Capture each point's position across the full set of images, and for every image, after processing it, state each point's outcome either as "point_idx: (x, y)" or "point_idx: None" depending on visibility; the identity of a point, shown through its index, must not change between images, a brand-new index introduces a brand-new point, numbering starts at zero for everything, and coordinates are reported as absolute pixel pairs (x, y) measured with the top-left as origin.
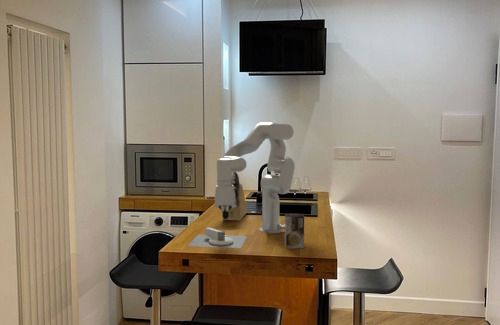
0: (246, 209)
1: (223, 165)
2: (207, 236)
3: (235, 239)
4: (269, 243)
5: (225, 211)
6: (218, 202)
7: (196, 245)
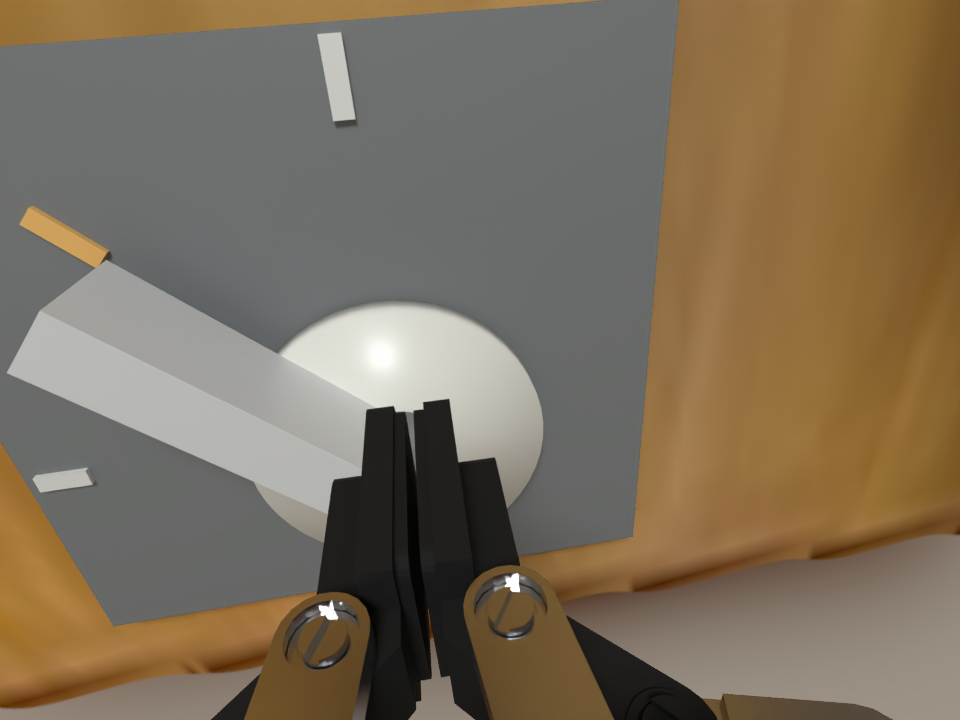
0: None
1: None
2: (54, 180)
3: (533, 250)
4: (923, 179)
5: (439, 656)
6: None
7: (189, 587)
